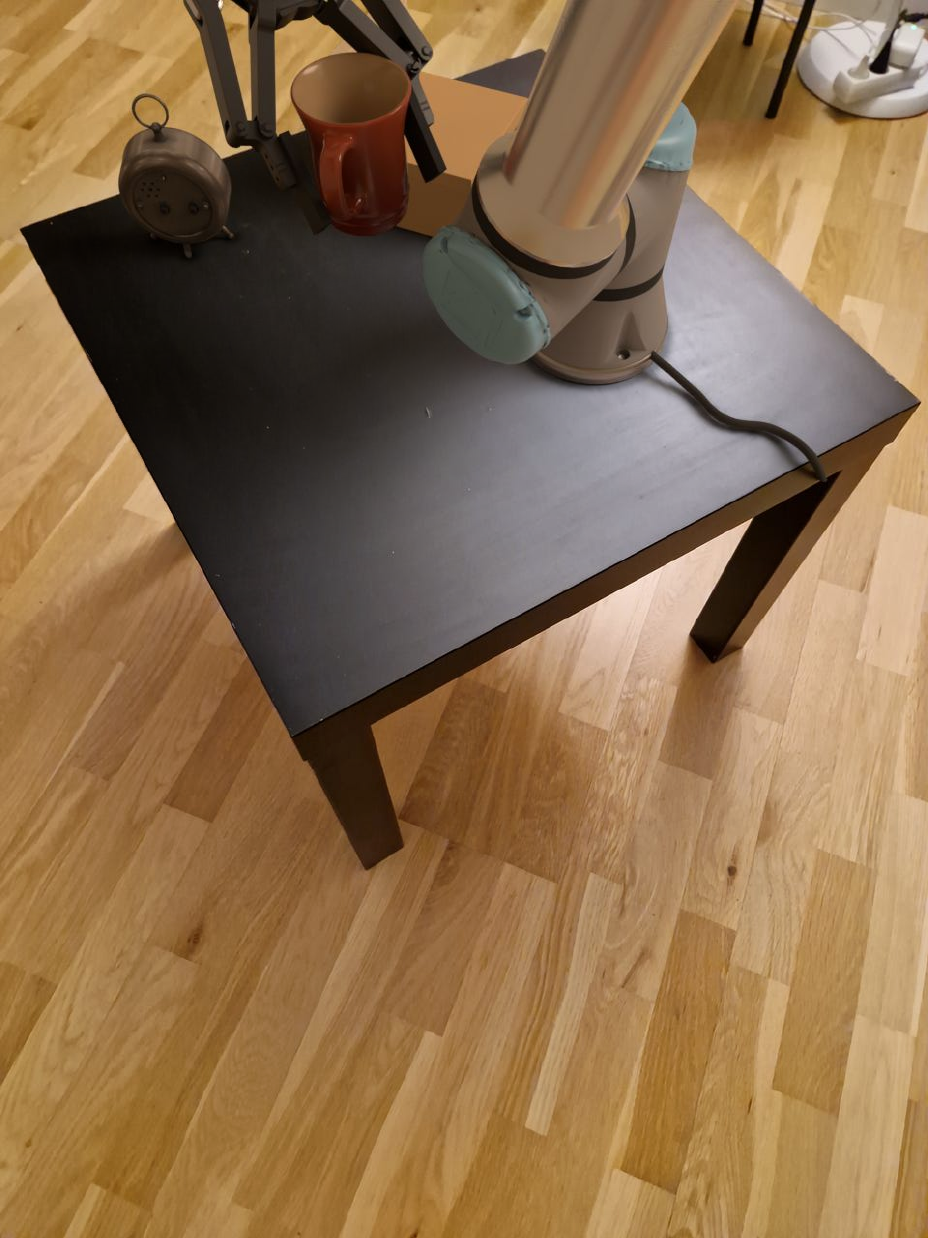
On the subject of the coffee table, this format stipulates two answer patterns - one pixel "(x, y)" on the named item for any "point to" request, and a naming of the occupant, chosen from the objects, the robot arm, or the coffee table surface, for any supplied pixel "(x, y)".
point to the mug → (357, 138)
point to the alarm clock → (174, 183)
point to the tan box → (453, 144)
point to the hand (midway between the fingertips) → (381, 201)
